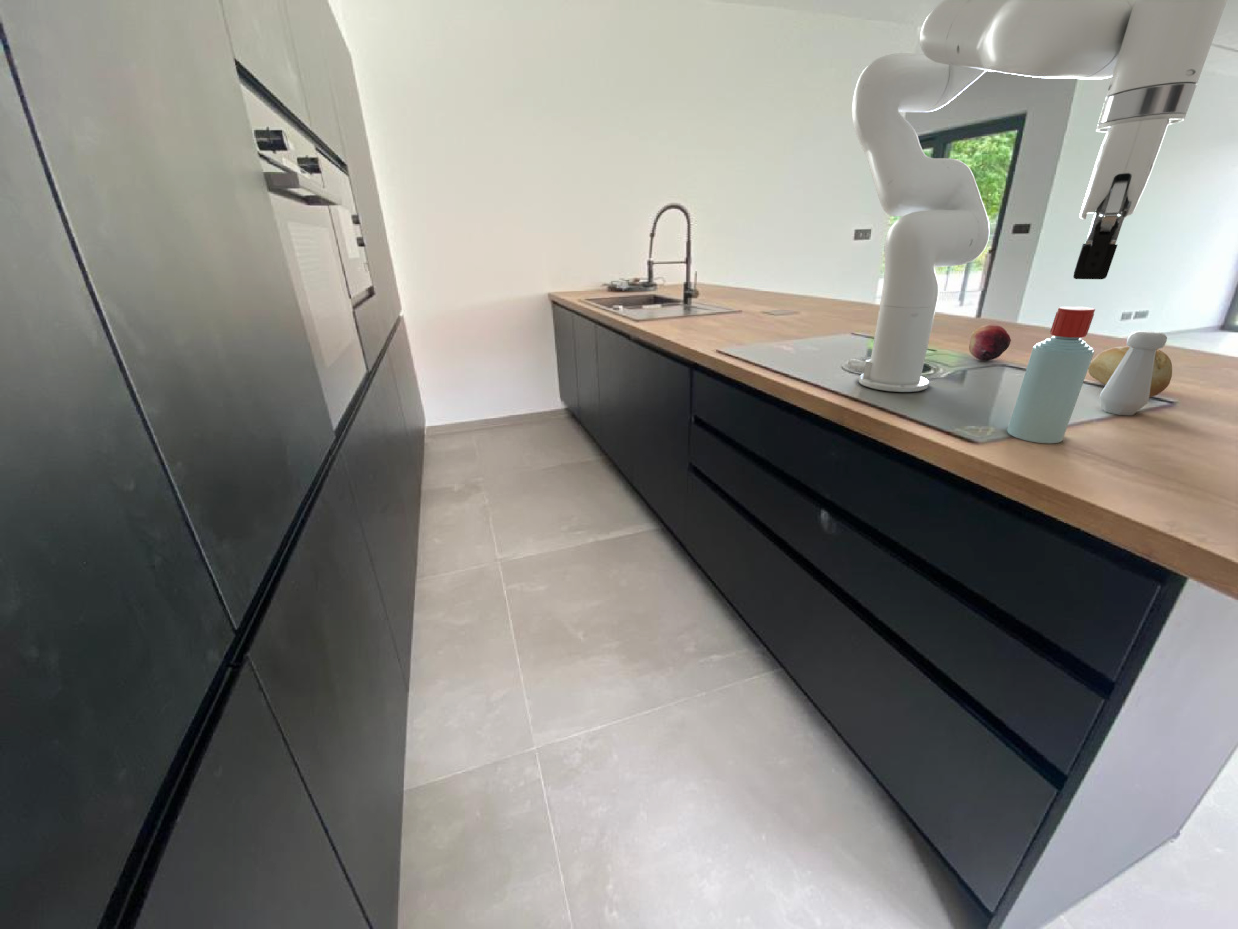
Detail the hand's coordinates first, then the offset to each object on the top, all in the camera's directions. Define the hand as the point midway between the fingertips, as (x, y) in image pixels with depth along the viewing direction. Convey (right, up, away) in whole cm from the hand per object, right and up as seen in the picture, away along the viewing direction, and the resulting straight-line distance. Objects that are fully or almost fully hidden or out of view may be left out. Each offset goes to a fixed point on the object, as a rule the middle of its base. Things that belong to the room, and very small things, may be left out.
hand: (1089, 275), depth 66 cm
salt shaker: (+21, -16, +18) cm, 32 cm away
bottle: (+1, -20, +10) cm, 23 cm away
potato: (+32, -11, +28) cm, 44 cm away
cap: (0, -7, +3) cm, 8 cm away
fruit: (+24, -1, +51) cm, 56 cm away
